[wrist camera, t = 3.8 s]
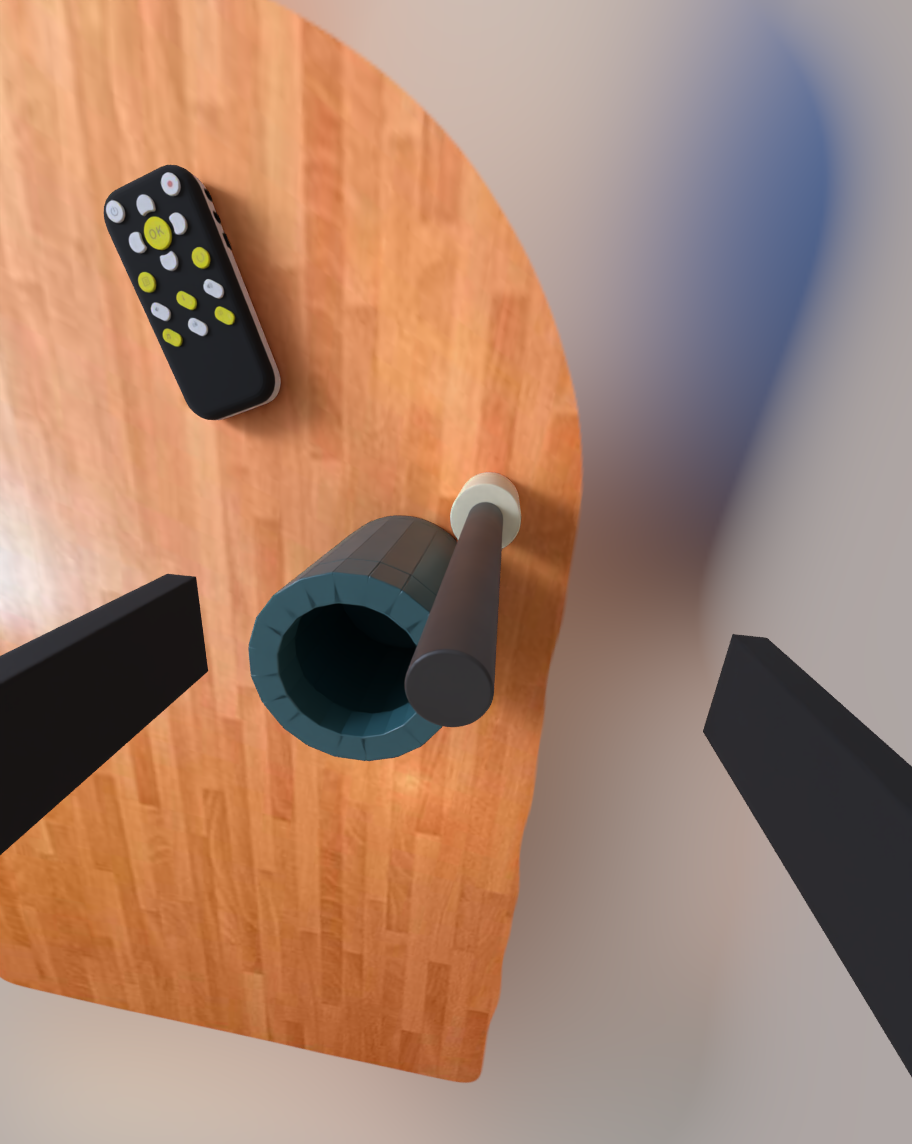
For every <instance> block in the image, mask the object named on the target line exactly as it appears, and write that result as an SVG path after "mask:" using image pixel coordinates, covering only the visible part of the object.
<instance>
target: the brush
mask: <svg viewBox="0 0 912 1144" xmlns="http://www.w3.org/2000/svg"><path fill="white" fill-rule="evenodd" d="M450 521H451V527H452V530H453V532H454V534H455V536H456V538H457V539H458V542H457V544H456V547H455V550H454V552H453V555H452V557H451V560H450V562H449V565H448V568H447V570H446V573H445V575H444V578H443V580H442V583H441V586H440V588H439V591H438V593H437V596H436V599H435V601H434V604H433V606H432V609H431V611H430V614H429V617H428V619H427V622H426V624H425V627H424V629H423V632H422V635H421V637H420V640H419V642H418V645H417V647H416V650H415V653H414V655H413V658H412V660H411V663H410V665H409V668H408V671H407V673H406V677H405V692H406V696H407V699H408V701H409V703H410V705H411V706H412V708H413V709H414V710H415V711H416V712H417V713H418V714H419V715H420V716H421V717H422V718H424V719H425V720H427V721H429V722H431V723H433V724H436V725H440V726H445V727H459V726H464V725H468V724H470V723H473V722H474V721H476V720H478V719H479V718H480V717H481V716H482V715H483V714H484V713H485V712H486V711H487V710H488V709H489V707H490V705H491V703H492V700H493V696H494V681H495V662H496V644H497V625H498V607H499V588H500V569H501V551H502V549H503V548H505V547H506V546H508V545H509V544H510V543H511V542H512V541H513V540H514V538H515V537H516V535H517V533H518V531H519V529H520V525H521V510H520V501H519V495H518V492H517V489H516V487H515V486H514V484H513V483H512V482H511V481H510V480H509V479H508V478H506V477H505V476H503V475H501V474H498V473H493V472H485V473H480V474H478V475H475V476H474V477H472V478H471V479H469V480H468V481H467V482H466V484H465V485H464V486H463V488H462V490H461V491H460V493H459V495H458V497H457V498H456V500H455V502H454V504H453V506H452V509H451V514H450Z"/></svg>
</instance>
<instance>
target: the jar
mask: <svg viewBox="0 0 912 1144" xmlns="http://www.w3.org/2000/svg"><path fill="white" fill-rule="evenodd" d="M456 544H457V541H456V540H455V539H454V538H453V537H452V536H451V535H450V534H448V533H447V532H446V531H445V530H443V529H442V528H440V527H438V526H437V525H435V524H433V523H431V522H429V521H426V520H423V519H420V518H417V517H411V516H387V517H383V518H379V519H376V520H374V521H371V522H369V523H367V524H365V525H364V526H362V527H361V528H359V529H358V530H357V531H355V532H353V533H352V534H350V535H349V536H348V537H346V538H345V539H344V540H343V541H341V542H340V543H339V544H338V545H336V546H335V547H334V548H333V549H331V550H330V551H329V552H327V553H326V554H325V555H324V556H322V557H321V558H320V559H319V560H317V561H316V562H315V563H314V564H312V565H311V566H310V567H308V568H307V569H306V570H305V571H303V572H302V573H301V574H300V575H298V576H297V577H296V578H295V579H293V580H292V581H291V582H289V583H288V584H287V585H286V586H284V587H283V588H282V589H281V590H279V591H278V592H277V593H275V594H274V595H273V596H272V597H271V599H270V600H269V601H268V603H267V604H266V605H265V607H264V608H263V609H262V611H261V612H260V613H259V615H258V616H257V617H256V620H255V624H254V628H253V631H252V635H251V639H250V642H249V660H250V671H251V677H252V680H253V682H254V684H255V687H256V689H257V691H258V694H259V696H260V698H261V701H262V702H263V703H264V705H265V706H266V707H267V709H268V710H269V711H270V712H271V714H272V715H273V716H274V717H275V718H276V720H277V721H278V722H279V723H280V725H281V726H283V728H284V729H286V730H287V731H288V732H290V733H291V734H292V735H294V736H295V737H297V738H298V739H299V740H301V741H302V742H303V743H305V744H306V745H308V746H310V747H313V748H315V749H318V750H320V751H322V752H325V753H327V754H330V755H332V756H335V757H336V756H337V757H341V758H348V759H356V760H363V761H366V760H367V761H372V760H380V759H388V758H395V757H399V756H401V755H403V754H405V753H407V752H410V751H412V750H414V749H416V748H419V747H421V746H422V745H423V744H425V743H426V742H427V741H428V740H429V739H430V738H431V737H432V736H433V735H434V734H435V733H436V732H437V731H438V730H439V729H441V728H442V726H440V725H436V724H433V723H431V722H429V721H427V720H425V719H424V718H422V717H421V716H420V715H419V714H418V713H417V712H416V711H415V710H414V709H413V708H412V706H411V705H410V703H409V701H408V699H407V696H406V692H405V677H406V673H407V671H408V668H409V665H410V663H411V660H412V658H413V655H414V653H415V650H416V647H417V645H418V642H419V640H420V637H421V635H422V632H423V629H424V627H425V624H426V622H427V619H428V617H429V614H430V611H431V609H432V606H433V604H434V601H435V599H436V596H437V593H438V591H439V588H440V586H441V583H442V580H443V578H444V575H445V573H446V570H447V568H448V565H449V562H450V560H451V557H452V555H453V552H454V550H455V547H456Z"/></svg>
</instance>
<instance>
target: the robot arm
mask: <svg viewBox="0 0 912 1144" xmlns="http://www.w3.org/2000/svg"><path fill="white" fill-rule="evenodd" d="M207 672H208V667H207V659H206V651H205V643H204V635H203V627H202V620H201V612H200V604H199V596H198V588H197V580H196V577H192V576H183V575H174V574H166V575H164V576H162V577H160V578H158V579H156V580H154V581H152V582H150V583H148V584H146V585H144V586H142V587H140V588H138V589H136V590H134V591H132V592H129V593H127V594H125V595H123V596H121V597H119V598H117V599H115V600H113V601H111V602H109V603H107V604H105V605H103V606H101V607H99V608H97V609H95V610H93V611H91V612H89V613H87V614H85V615H83V616H81V617H79V618H77V619H75V620H73V621H71V622H69V623H67V624H65V625H62V626H60V627H58V628H56V629H54V630H52V631H50V632H48V633H46V634H44V635H42V636H40V637H38V638H36V639H34V640H32V641H30V642H28V643H26V644H24V645H22V646H20V647H18V648H16V649H14V650H12V651H10V652H8V653H6V654H4V655H2V656H0V855H1V854H2V853H3V852H4V851H5V850H7V849H8V848H9V847H10V846H11V845H12V844H13V843H14V842H16V841H17V840H18V839H19V838H20V837H21V836H22V835H24V834H25V833H26V832H27V831H28V830H29V829H30V828H31V827H33V826H34V825H35V824H36V823H37V822H38V821H39V820H40V819H42V818H43V817H44V816H45V815H46V814H47V813H48V812H50V811H51V810H52V809H53V808H54V807H55V806H56V805H57V804H59V803H60V802H61V801H62V800H63V799H64V798H65V797H66V796H68V795H69V794H70V793H71V792H72V791H73V790H74V789H75V788H77V787H78V786H79V785H80V784H81V783H82V782H83V781H85V780H86V779H87V778H88V777H89V776H90V775H91V774H92V773H94V772H95V771H96V770H97V769H98V768H99V767H100V766H101V765H103V764H104V763H105V762H106V761H107V760H108V759H109V758H111V757H112V756H113V755H114V754H115V753H116V752H117V751H118V750H120V749H121V748H122V747H123V746H124V745H125V744H126V743H127V742H129V741H130V740H131V739H132V738H133V737H134V736H135V735H136V734H138V733H139V732H140V731H141V730H142V729H143V728H144V727H146V726H147V725H148V724H149V723H150V722H151V721H152V720H153V719H155V718H156V717H157V716H158V715H159V714H160V713H161V712H162V711H164V710H165V709H166V708H167V707H168V706H169V705H170V704H171V703H173V702H174V701H175V700H176V699H177V698H178V697H179V696H181V695H182V694H183V693H184V692H185V691H186V690H187V689H188V688H190V687H191V686H192V685H193V684H194V683H195V682H196V681H197V680H199V679H200V678H201V677H202V676H203V675H204V674H205V673H207ZM703 732H704V734H705V736H706V737H707V739H708V741H709V742H710V744H711V746H712V747H713V749H714V751H715V752H716V754H717V756H718V757H719V759H720V761H721V762H722V764H723V766H724V767H725V769H726V770H727V772H728V774H729V775H730V777H731V779H732V780H733V782H734V784H735V785H736V787H737V789H738V790H739V792H740V794H741V795H742V797H743V798H744V800H745V802H746V804H747V805H748V806H749V809H750V810H751V812H752V814H753V815H754V817H755V819H756V820H757V822H758V823H759V825H760V827H761V828H762V830H763V832H764V833H765V835H766V837H767V838H768V840H769V842H770V843H771V845H772V847H773V848H774V850H775V852H776V853H777V855H778V856H779V858H780V860H781V861H782V863H783V865H784V866H785V868H786V870H787V871H788V873H789V874H790V876H791V878H792V880H793V881H794V883H795V884H796V886H797V888H798V889H799V891H800V893H801V895H802V896H803V898H804V899H805V901H806V903H807V905H808V906H809V908H810V909H811V911H812V913H813V914H814V916H815V918H816V919H817V921H818V923H819V924H820V926H821V928H822V929H823V931H824V933H825V934H826V936H827V938H828V939H829V941H830V943H831V944H832V946H833V948H834V949H835V951H836V953H837V954H838V956H839V958H840V959H841V961H842V962H843V964H844V966H845V967H846V969H847V971H848V972H849V974H850V976H851V977H852V979H853V981H854V982H855V984H856V986H857V987H858V989H859V991H860V992H861V994H862V995H863V997H864V999H865V1000H866V1002H867V1004H868V1005H869V1007H870V1009H871V1010H872V1012H873V1014H874V1015H875V1017H876V1019H877V1020H878V1022H879V1024H880V1025H881V1027H882V1029H883V1030H884V1032H885V1034H886V1035H887V1037H888V1039H889V1040H890V1042H891V1044H892V1045H893V1047H894V1048H895V1050H896V1052H897V1053H898V1055H899V1056H900V1058H901V1060H902V1062H903V1063H904V1065H905V1067H906V1068H907V1070H908V1072H909V1073H910V1075H911V1077H912V766H910V765H909V764H908V763H907V762H906V761H905V760H904V759H903V758H901V757H900V756H899V755H898V754H897V753H896V752H895V751H894V750H892V749H891V748H890V747H889V746H888V745H887V744H886V743H884V742H883V741H882V740H881V739H880V738H879V737H878V736H877V735H876V734H874V733H873V732H872V731H871V730H870V729H869V728H868V727H867V726H865V725H864V724H863V723H862V722H861V721H860V720H859V719H858V718H856V717H855V716H854V715H853V714H852V713H851V712H849V710H847V709H846V708H845V707H844V706H843V705H842V704H841V703H840V702H838V701H837V700H836V699H835V698H834V697H833V696H832V695H831V694H829V693H828V692H827V691H826V690H825V689H824V688H823V687H821V686H820V685H819V684H818V683H817V682H816V681H815V680H814V679H813V678H811V677H810V676H809V675H808V674H807V673H806V672H805V671H804V670H802V669H801V668H800V667H799V666H798V665H797V664H796V663H794V662H793V661H792V660H791V659H790V658H789V657H788V656H787V655H786V654H784V653H783V652H782V651H781V650H780V649H779V648H777V646H775V645H774V644H773V643H772V642H771V641H770V640H769V639H768V638H763V637H753V636H744V635H735V634H733V635H732V638H731V641H730V645H729V648H728V651H727V655H726V658H725V661H724V664H723V667H722V671H721V674H720V677H719V680H718V684H717V687H716V690H715V694H714V697H713V700H712V703H711V707H710V710H709V713H708V716H707V720H706V723H705V726H704V730H703Z"/></svg>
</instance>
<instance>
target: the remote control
mask: <svg viewBox="0 0 912 1144" xmlns="http://www.w3.org/2000/svg"><path fill="white" fill-rule="evenodd" d="M104 219H105V223H106V226H107V229H108V232H109V234H110V236H111V238H112V240H113V243H114V245H115V247H116V249H117V251H118V254H119V256H120V258H121V260H122V262H123V265H124V267H125V269H126V271H127V273H128V275H129V278H130V280H131V282H132V284H133V286H134V289H135V291H136V293H137V295H138V297H139V300H140V302H141V304H142V306H143V308H144V311H145V313H146V315H147V317H148V319H149V322H150V324H151V326H152V328H153V330H154V333H155V335H156V337H157V339H158V341H159V343H160V346H161V348H162V350H163V352H164V354H165V357H166V359H167V361H168V363H169V365H170V368H171V370H172V372H173V374H174V376H175V379H176V381H177V383H178V385H179V387H180V390H181V392H182V394H183V396H184V398H185V400H186V402H187V404H188V406H189V408H190V409H191V410H192V411H193V412H194V413H196V414H197V415H198V416H200V417H202V418H204V419H208V420H221V419H226V418H229V417H232V416H234V415H237V414H240V413H242V412H245V411H248V410H251V409H253V408H256V407H259V406H261V405H264V404H267V403H269V402H271V401H272V400H273V399H274V398H275V397H276V396H277V394H278V392H279V390H280V385H281V379H280V374H279V371H278V368H277V366H276V363H275V361H274V358H273V355H272V353H271V350H270V348H269V345H268V343H267V340H266V338H265V335H264V333H263V330H262V327H261V325H260V322H259V320H258V317H257V315H256V312H255V310H254V307H253V305H252V302H251V299H250V297H249V294H248V292H247V289H246V287H245V284H244V282H243V279H242V277H241V274H240V271H239V269H238V266H237V264H236V261H235V259H234V256H233V254H232V251H231V250H232V249H231V246H230V244H229V241H228V239H227V236H226V234H225V233H224V231H223V228H222V226H221V221H220V218H219V216H218V215H217V213H216V210H215V208H214V205H213V203H212V197H211V195H210V193H209V192H208V191H207V189H206V187H205V186H204V185H203V184H202V182H201V181H200V180H199V179H198V178H197V177H195V176H194V175H193V174H191V173H190V172H189V171H187V170H186V169H184V168H182V167H179V166H177V165H166V166H162V167H160V168H158V169H156V170H154V171H152V172H150V173H148V174H146V175H144V176H142V177H140V178H138V179H136V180H134V181H132V182H130V183H128V184H126V185H124V186H122V187H121V188H119V189H117V190H115V191H114V192H112V193H111V194H110V195H109V197H108V198H107V200H106V202H105V206H104Z"/></svg>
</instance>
